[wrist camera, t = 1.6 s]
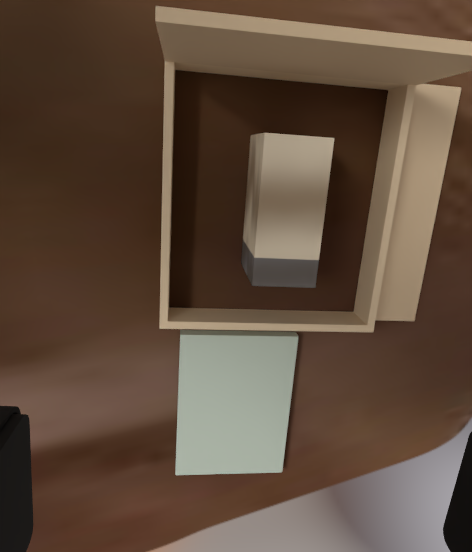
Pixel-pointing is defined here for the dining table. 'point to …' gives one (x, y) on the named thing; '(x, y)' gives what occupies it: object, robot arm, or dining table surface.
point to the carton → (391, 158)
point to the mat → (233, 401)
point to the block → (285, 208)
